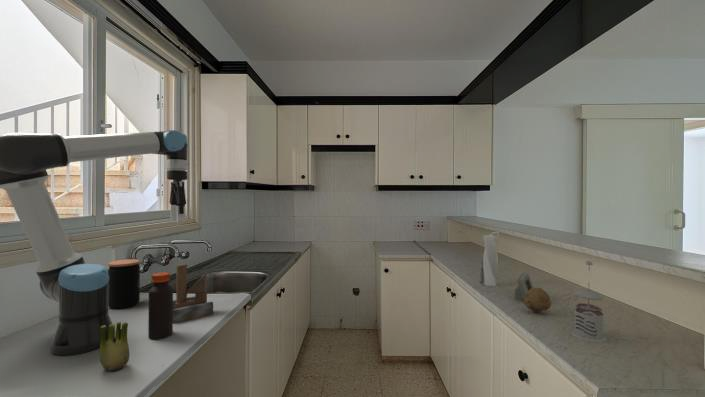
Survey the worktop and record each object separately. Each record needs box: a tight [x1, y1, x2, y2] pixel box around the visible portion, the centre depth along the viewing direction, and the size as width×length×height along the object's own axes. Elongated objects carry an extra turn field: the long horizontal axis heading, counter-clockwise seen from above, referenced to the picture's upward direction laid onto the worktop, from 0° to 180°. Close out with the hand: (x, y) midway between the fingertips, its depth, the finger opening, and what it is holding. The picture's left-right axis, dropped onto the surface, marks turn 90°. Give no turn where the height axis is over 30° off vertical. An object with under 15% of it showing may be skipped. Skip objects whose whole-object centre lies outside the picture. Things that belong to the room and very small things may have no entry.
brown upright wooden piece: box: [175, 263, 208, 309], centre depth 124 cm, size 4×11×18 cm, turn 103°
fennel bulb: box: [99, 321, 130, 372], centre depth 85 cm, size 6×5×12 cm
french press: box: [564, 260, 608, 344], centre depth 108 cm, size 10×12×25 cm
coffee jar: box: [107, 258, 141, 310], centre depth 133 cm, size 11×11×18 cm
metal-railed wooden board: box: [173, 295, 214, 324], centre depth 124 cm, size 14×13×4 cm
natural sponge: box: [523, 287, 552, 314], centre depth 128 cm, size 9×9×10 cm
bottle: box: [147, 271, 174, 340], centre depth 105 cm, size 7×7×20 cm
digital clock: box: [514, 272, 535, 302], centre depth 146 cm, size 16×9×11 cm, turn 132°
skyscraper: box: [479, 231, 500, 288], centre depth 168 cm, size 8×8×28 cm
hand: (177, 221), depth 135 cm, fingers open, 13 cm apart
